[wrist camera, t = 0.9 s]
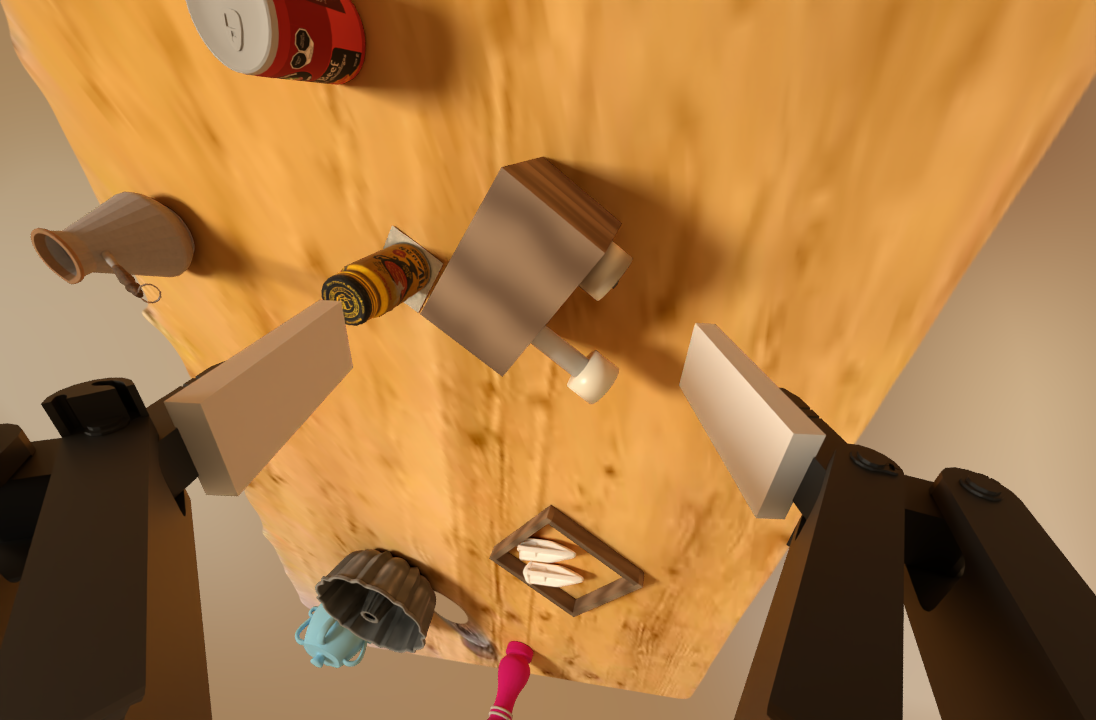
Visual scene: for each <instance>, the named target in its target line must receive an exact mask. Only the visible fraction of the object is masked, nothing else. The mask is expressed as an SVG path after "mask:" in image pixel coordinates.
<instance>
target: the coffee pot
mask: <svg viewBox="0 0 1096 720" xmlns="http://www.w3.org/2000/svg"><path fill="white" fill-rule="evenodd" d="M31 240H32V244H33V246H34V248H35V250H36V252H37V253H38V255H39V256H40V258H41V259H42V260H43V262H44V263H45V264H46V265H47V266H48V267H49V268H50V269H51V270H52V271H53V272H54V273H56V274H57V275H58V276H59V277H61V278H62V279H64V280H65V281H67V282H68V283H70V284H76V283H79V282H81V281H82V280H83V279H84V276H86V275H88V274H90V273H92V272H96V273H97V272H98V273H112V274H115V275H116V276H117V278H118V280H119V281H120V283H122V284H123V285H125V288H126V290H127V291H128V292H131V293H132V294H133V295H135V296H136V297H139V298H141V297H143V291H142V290H141V287H142V286H145V285H152V284H143V285H141V286H140V285H139V284H138V283H136V282H135V279H134V277H132V275H145V276H161V277H174V276H179V275H181V274H182V273H183V272H185V271H186V270H187V269H188V268H189V266H190V264H191V261H192V258H193V253H194V241H193V237H192V235H191V233H190V231H189V229H188V227H187V226H186V224H185V223H184V222H183V220H182V219H181V218H180V217H179V216H178V215H177V214H176V213H175V212H174V211H173V210H171V209H170V208H168V207H167V206H164V205H162V204H161V203H159V202H158V201H156V200H154V199H152V198H150V197H147V196H145V195H142V194H138V193H131V192H122V193H119V194H116V195H114V196H113V197H111V198H110V199H108V200H107V201H106V202H104V203H103V204H101V205H100V206H98V207H97V208H95V209H94V210H92V211H91V212H89V213H88V214H86V215H85V216H83V217H82V218H80V219H79V220H77V221H76V222H74V223H73V224H71V225H70V226H68V227H67V228H65V229H64V230H62V231H49V230H47V229H42V228H37V229H34V230H33V231H32V232H31ZM152 286H154V285H152ZM154 287H156V286H154ZM156 288H157V287H156ZM157 289H158V288H157ZM158 290H159V289H158ZM159 292H160V296H159V298H158V300H156V301H154V302H147V301H145V300H144V299H142V298H141V299H142V300H143V301H145V302H147V303H155V302H158V301H159V300H160V298H161V291H160V290H159Z"/></svg>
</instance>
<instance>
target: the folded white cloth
mask: <svg viewBox="0 0 1096 720" xmlns="http://www.w3.org/2000/svg"><path fill="white" fill-rule="evenodd" d="M517 547H518V548H517V550H518V551H519V554H520V555H519V558H520V560H529V561H530V562H529V563H528V564H527V565H526V566H525V568H524V570H523V575H524V577H525V581H526V582H527V583H528V584H530V585H531V584H538V585H545V586H552V587H562V586H567V585H572V584H577V583H581V582H583V581H584V578H583V577H582V576H581V575H579V574H578V573H576V572H574V571H572V570H571V569H569V568H566V567H564V566H561V565H554V564H548V563H553V562H558V561H563V560H567V559H572V558H575V557H576V553H575V552H574V551H573V550H571V549H569V548H567V547H565V546H563V545H561V544H559V543H556V542H554V541H549V540H542V539H535V538H529V537H528V538H527V539H525V540H524V541H522V542H521V544H518V546H517ZM537 561H538V562H537ZM542 562H547V563H542Z"/></svg>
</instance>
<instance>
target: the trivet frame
mask: <svg viewBox="0 0 1096 720" xmlns="http://www.w3.org/2000/svg"><path fill="white" fill-rule="evenodd" d="M547 524H549V525H551V526H552V527H554V528H555V529H556V530H558V531H559V532H560V533H562V534H563V535H565V536H566V537H567V538H569V539H570V540H572V541H573V542H574V543H576V544H577V545H579V546H580V547H581V548H583V549H584V550H585V551H587V552H588V553H590V554H591V555H592V556H594V557H595V558H597V559H598V560H599V561H601V562H602V563H603V564H605V565H606V566H608V567H609V568H610V569H612V570H613V571H615V572H616V573H617V574H619V575H620V576H622V577H623V578H620V579H618V580H616V581H614V582H612V583H610V584H608V585H606V586H603V587H601V588H599V589H597V590H595V591H593V592H591V593H589V594H586V595H584V596H582V597H580V598H578V599H574V598H573V597H571V596H570V595H568V594H567V593H566V592H564V591H563V590H561V589H560V588H558V587H552V586H545V585H538V584H531V585H530V584H528V583H527V582H526V581H525V577H524V575H523V570H524V568H525V566H526V564H524V563H523V562H521V561H520V560H518V559H517V558H516V557H514V556H513V555H511V554H510V553H508V551H509V550H511V549H512V548H514V547H515V546H517V545H518V544H519V543H521V542H522V541H524V540H525V539H527V538H528V537H530V536H531V535H532V534H534V533H535V532H537V531H538V530H540V529H541V528H543V527H544V526H545V525H547ZM489 559H491V560H492V561H494V562H495V563H497V564H498V565H499V566H501V567H502V568H504V569H505V570H507V571H508V572H510V573H511V574H512V575H514V576H515V577H517V578H518V579H520V580H521V581H523V582H524V583H525V584H527V585H528V586H530V587H531V588H533V589H534V590H535V591H537V592H538V593H540V594H541V595H543V596H544V597H546V598H547V599H548V600H550V601H551V602H553V603H554V604H556V605H557V606H559V607H560V608H561V609H563V610H564V611H566V612H567V613H569V614H570V615H572V616H573V617H575V616H577V615H580V614H582V613H584V612H587V611H589V610H591V609H594V608H596V607H598V606H601V605H603V604H605V603H608V602H610V601H612V600H614V599H617V598H619V597H621V596H624V595H626V594H628V593H631V592H633V591H635V590H638V589H640V588H642V587H643V581H644V572H642V571H641V570H640V569H638V568H637V567H636V566H634V565H633V564H631V563H630V562H629V561H627V560H626V559H625V558H623V557H622V556H620V555H619V554H618V553H616V552H615V551H614V550H612V549H611V548H609V547H608V546H607V545H605V544H604V543H603V542H601V541H600V540H599V539H597V538H596V537H594V536H593V535H592V534H590V533H589V532H588V531H586V530H585V529H583V528H582V527H581V526H579V525H578V524H577V523H575V522H574V521H572V520H571V519H570V518H568V517H567V516H566V515H564V514H563V513H561V512H560V511H559V510H557V509H556V508H555V507H553V506H552V505H550V506H549V507H547V508H546V509H545V510H543V511H542V512H541V513H539V514H538V515H536V516H535V517H534V518H532V519H531V520H530V521H528V522H527V523H526V524H524V525H523V526H521V527H520V528H519V529H517V530H516V531H515V532H513V533H512V534H511V535H509V536H508V537H507V538H505V539H504V540H502V541H501V542H500V543H498V544H497V545H496V546H494V549H493V551H492V553H491V556H490V558H489Z"/></svg>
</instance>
